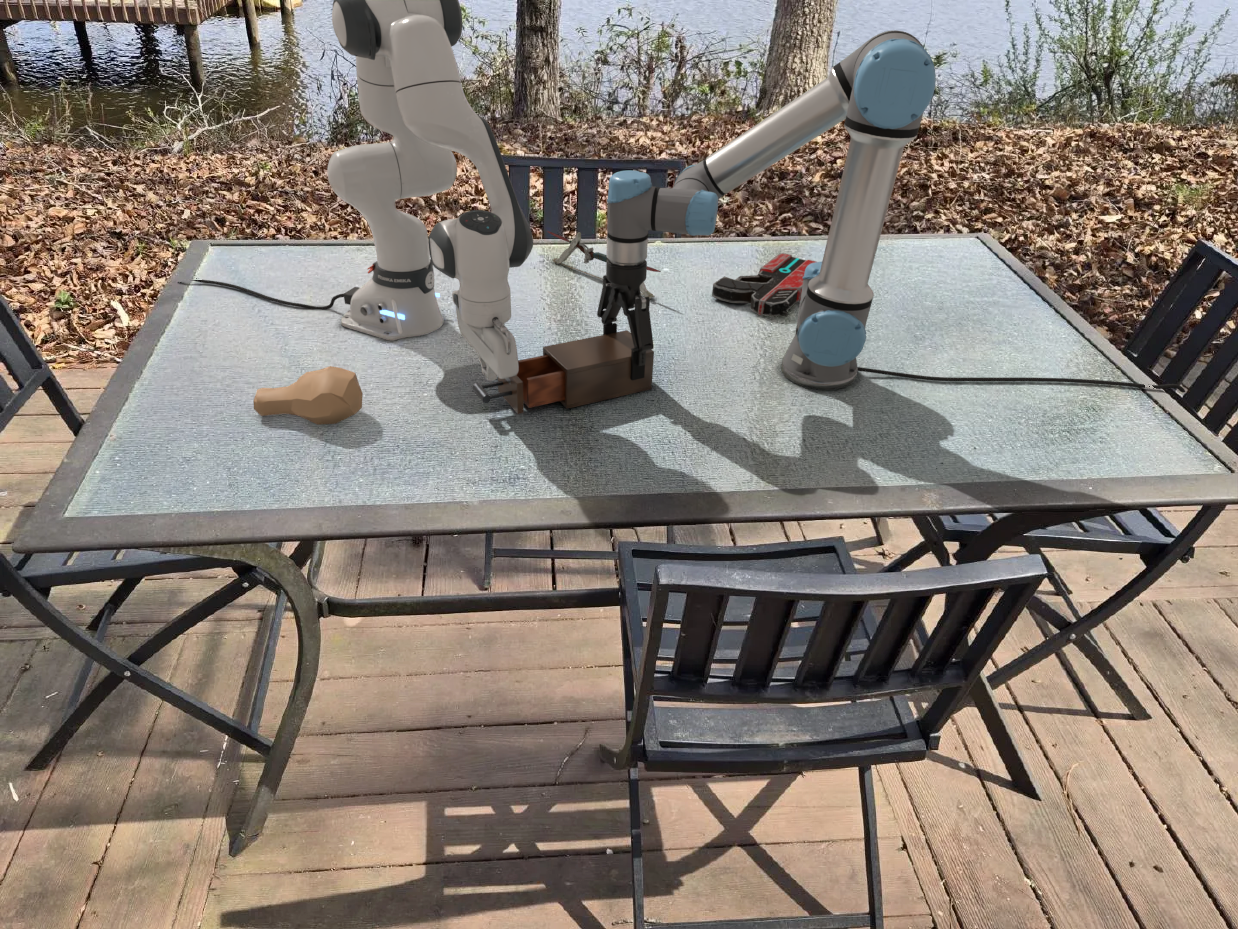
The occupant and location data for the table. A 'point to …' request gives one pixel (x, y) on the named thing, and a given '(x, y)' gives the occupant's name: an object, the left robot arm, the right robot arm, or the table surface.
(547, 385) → the drawer
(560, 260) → the bow
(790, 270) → the gun
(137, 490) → the table surface
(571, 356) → the cabinet
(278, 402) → the squash
